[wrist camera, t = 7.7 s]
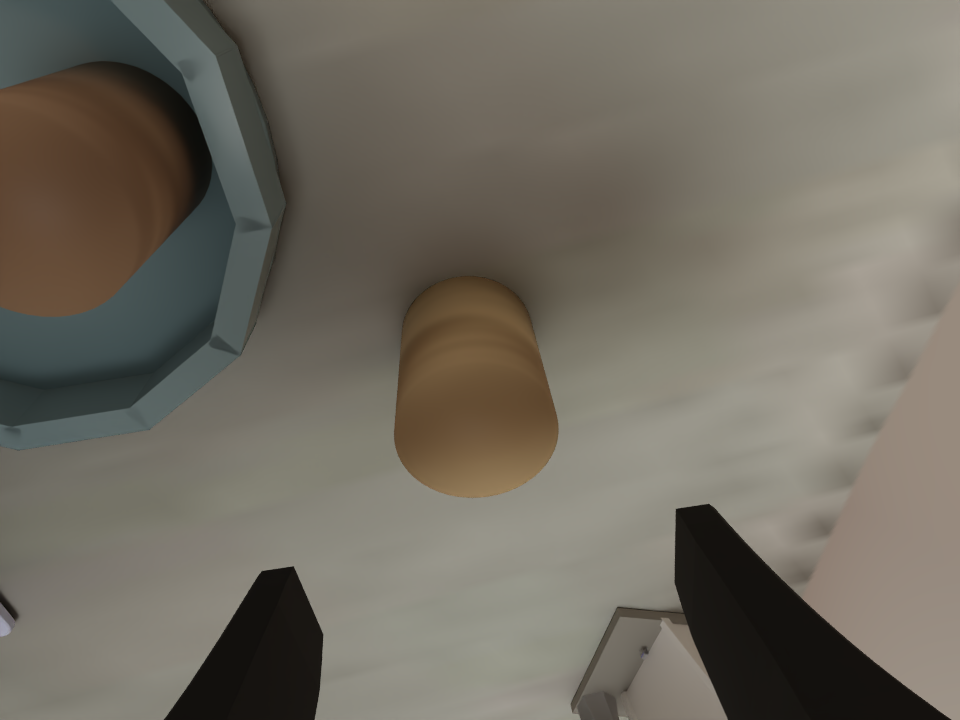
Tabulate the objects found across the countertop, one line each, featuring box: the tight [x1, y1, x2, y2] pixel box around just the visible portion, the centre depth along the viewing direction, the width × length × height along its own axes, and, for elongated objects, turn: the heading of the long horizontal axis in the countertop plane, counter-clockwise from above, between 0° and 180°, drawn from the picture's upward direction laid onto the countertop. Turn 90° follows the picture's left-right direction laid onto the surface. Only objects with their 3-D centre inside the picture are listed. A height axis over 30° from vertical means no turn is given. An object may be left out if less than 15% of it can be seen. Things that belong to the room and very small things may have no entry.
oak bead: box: [394, 276, 558, 498], centre depth 18 cm, size 4×4×5 cm
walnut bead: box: [0, 61, 212, 317], centre depth 14 cm, size 4×4×5 cm
